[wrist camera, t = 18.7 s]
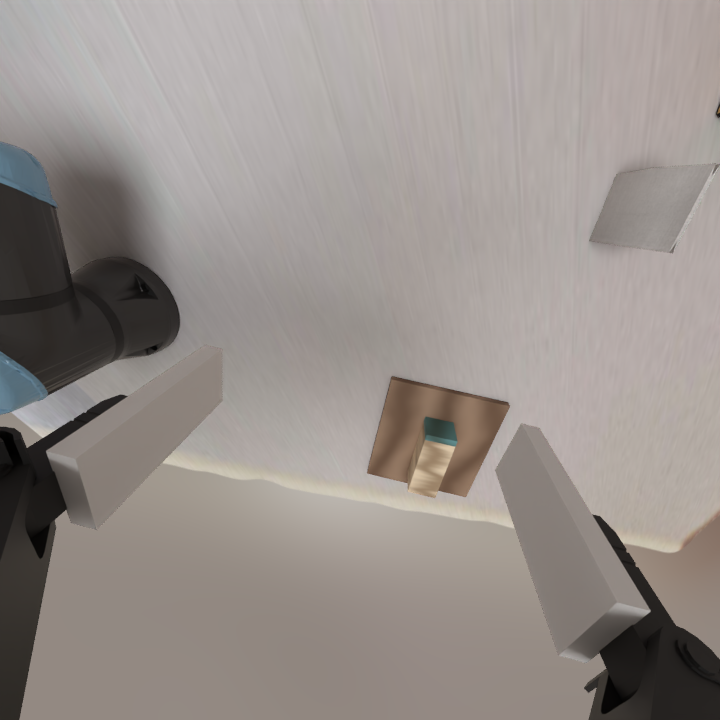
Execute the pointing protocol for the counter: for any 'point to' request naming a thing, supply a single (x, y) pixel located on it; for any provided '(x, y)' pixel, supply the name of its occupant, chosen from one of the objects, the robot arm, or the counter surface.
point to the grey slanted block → (652, 206)
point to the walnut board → (417, 400)
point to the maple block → (431, 456)
